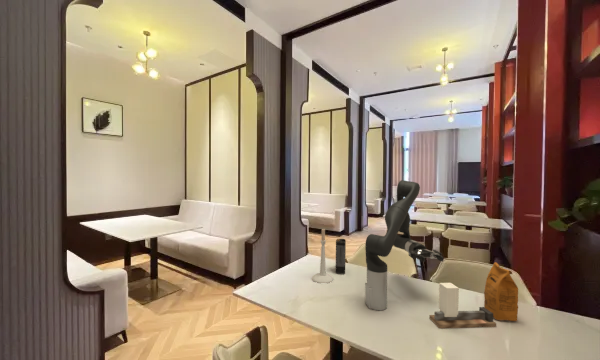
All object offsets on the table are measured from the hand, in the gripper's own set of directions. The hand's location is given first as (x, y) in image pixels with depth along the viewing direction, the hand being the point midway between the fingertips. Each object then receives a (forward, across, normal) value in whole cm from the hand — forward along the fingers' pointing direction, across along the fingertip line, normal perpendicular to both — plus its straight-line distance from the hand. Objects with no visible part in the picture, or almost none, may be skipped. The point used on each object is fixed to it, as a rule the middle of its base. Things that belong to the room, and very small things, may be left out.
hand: (433, 259), depth 115 cm
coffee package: (+6, +27, +23) cm, 36 cm away
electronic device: (-46, -33, +23) cm, 61 cm away
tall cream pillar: (+11, 0, +19) cm, 22 cm away
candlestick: (-35, -46, +23) cm, 62 cm away
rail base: (+11, +6, +23) cm, 26 cm away
